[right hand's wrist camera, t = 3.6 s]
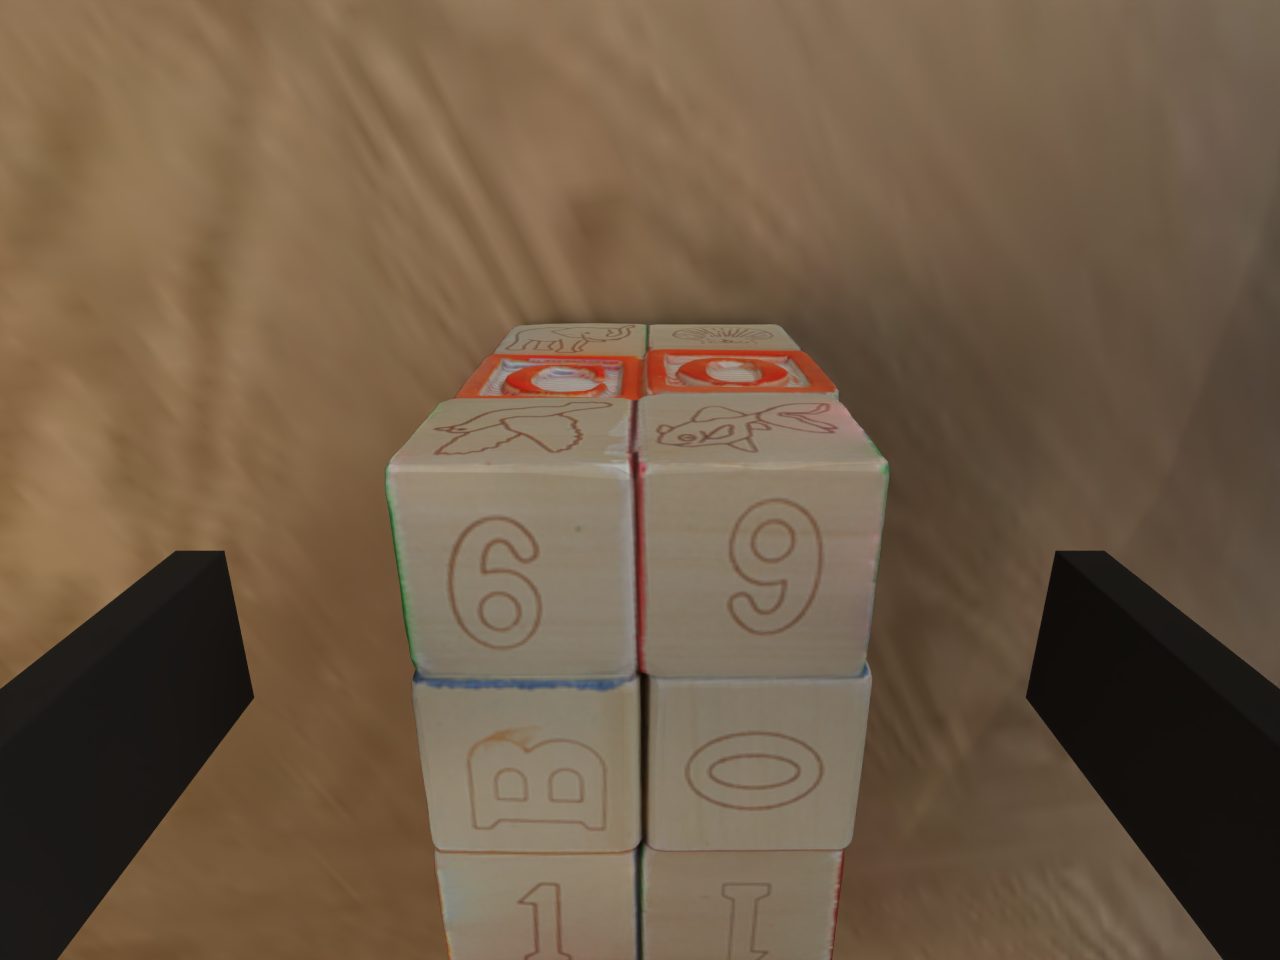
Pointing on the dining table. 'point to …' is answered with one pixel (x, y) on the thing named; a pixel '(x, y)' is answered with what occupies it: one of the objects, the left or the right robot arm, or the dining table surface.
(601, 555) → the stack of blocks
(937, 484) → the dining table surface
